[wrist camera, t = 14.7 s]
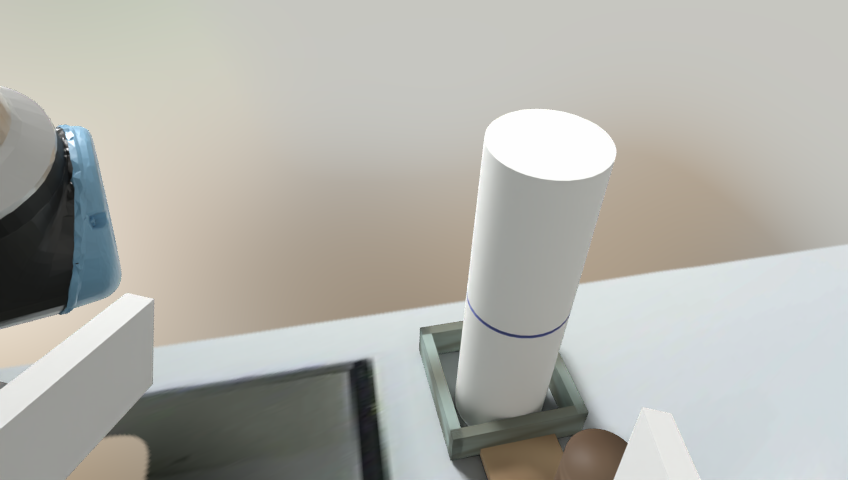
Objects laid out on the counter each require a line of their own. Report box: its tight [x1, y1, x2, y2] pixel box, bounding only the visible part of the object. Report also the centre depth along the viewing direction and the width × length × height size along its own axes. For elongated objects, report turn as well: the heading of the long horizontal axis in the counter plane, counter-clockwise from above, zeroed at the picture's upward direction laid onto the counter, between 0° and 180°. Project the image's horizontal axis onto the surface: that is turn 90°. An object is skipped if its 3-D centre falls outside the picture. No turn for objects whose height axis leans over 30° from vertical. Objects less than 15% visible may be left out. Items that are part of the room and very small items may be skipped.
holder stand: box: [419, 321, 628, 480], centre depth 42 cm, size 21×11×13 cm, turn 13°
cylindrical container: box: [455, 109, 616, 426], centre depth 41 cm, size 7×7×25 cm
